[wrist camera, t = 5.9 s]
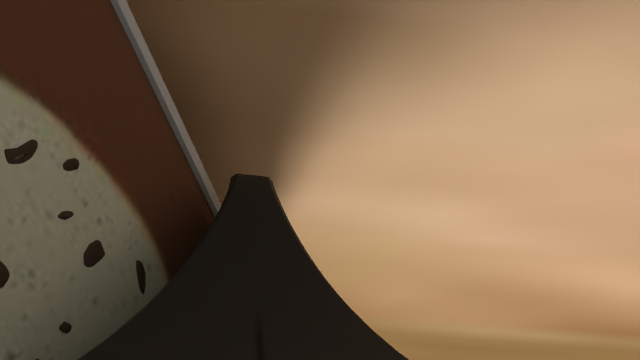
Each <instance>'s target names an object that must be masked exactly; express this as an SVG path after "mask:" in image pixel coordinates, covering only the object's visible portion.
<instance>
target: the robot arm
mask: <svg viewBox="0 0 640 360" xmlns="http://www.w3.org/2000/svg"><path fill="white" fill-rule="evenodd" d="M78 360H408V359H407V358H406V357H404V356H403V355H402V354H400V353H399V352H398V351H396V350H395V349H394V348H393V347H391V346H390V345H389V344H388V343H387V342H386V341H384V340H383V339H382V338H381V337H380V336H379V335H377V334H376V333H375V332H374V331H373V330H372V329H371V328H370V327H369V326H368V325H367V324H366V323H365V322H364V321H363V320H362V319H361V318H360V317H359V316H358V315H357V314H356V313H355V312H354V311H353V310H352V309H351V308H350V307H349V306H348V305H347V304H346V303H345V302H344V301H343V300H342V298H341V297H340V296H339V295H338V294H337V293H336V291H335V290H334V289H333V288H332V286H331V285H330V284H329V283H328V281H327V280H326V279H325V278H324V276H323V275H322V273H321V272H320V271H319V269H318V268H317V266H316V265H315V264H314V262H313V261H312V259H311V258H310V256H309V254H308V253H307V251H306V250H305V248H304V247H303V245H302V243H301V242H300V240H299V238H298V236H297V235H296V233H295V231H294V229H293V227H292V226H291V224H290V222H289V220H288V218H287V216H286V214H285V212H284V210H283V208H282V206H281V203H280V201H279V199H278V196H277V194H276V191H275V189H274V186H273V183H272V181H271V180H270V179H269V177H264V176H253V175H243V174H236V175H234V176H233V177H231V181H230V186H229V189H228V192H227V194H226V197H225V199H224V201H223V203H222V206H221V208H220V210H219V211H218V213H217V215H216V217H215V219H214V220H213V222H212V224H211V226H210V227H209V229H208V231H207V232H206V234H205V235H204V237H203V238H202V240H201V241H200V243H199V244H198V246H197V247H196V249H195V250H194V251H193V253H192V254H191V256H190V257H189V258H188V259H187V261H186V262H185V263H184V265H183V266H182V267H181V268H180V269H179V271H178V272H177V273H176V274H175V275H174V277H173V278H172V279H171V280H170V281H169V282H168V283H167V284H166V285H165V286H164V287H163V288H162V290H161V291H160V292H159V293H158V294H157V295H156V296H155V297H154V298H153V299H152V300H151V301H150V302H149V303H148V304H147V305H146V306H145V307H144V308H143V309H141V310H140V311H139V312H138V313H137V314H136V315H134V316H133V317H132V318H131V319H130V320H129V321H127V322H126V323H125V324H124V325H123V326H122V327H120V328H119V329H118V330H117V331H116V332H115V333H113V334H112V335H111V336H110V337H108V338H107V339H106V340H104V341H103V342H102V343H100V344H99V345H97V346H96V347H94V348H93V349H92V350H90V351H89V352H87V353H86V354H85V355H83V356H82V357H80V358H79V359H78Z"/></svg>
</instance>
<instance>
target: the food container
mask: <svg viewBox="0 0 640 360" xmlns="http://www.w3.org/2000/svg"><path fill="white" fill-rule="evenodd" d="M221 206H222V205H221V203H220V201H219V199H218V197H217V195H216V192H215V190H214V188H213V186H212V184H211V182H210V179H209V177H208V175H207V173H206V171H205V169H204V167H203V164H202V162H201V160H200V158H199V156H198V154H197V152H196V149H195V147H194V145H193V143H192V141H191V139H190V137H189V134H188V132H187V130H186V128H185V126H184V124H183V121H182V119H181V117H180V115H179V113H178V111H177V109H176V106H175V104H174V102H173V100H172V98H171V96H170V94H169V91H168V89H167V87H166V85H165V83H164V81H163V79H162V76H161V74H160V72H159V70H158V68H157V66H156V63H155V61H154V59H153V57H152V55H151V53H150V51H149V48H148V46H147V44H146V42H145V40H144V38H143V36H142V33H141V31H140V29H139V27H138V25H137V23H136V21H135V18H134V16H133V14H132V12H131V10H130V8H129V5H128V3H127V1H126V0H0V360H78V359H79V358H80V357H82V356H83V355H85V354H86V353H87V352H89V351H90V350H92V349H93V348H94V347H96V346H97V345H99V344H100V343H102V342H103V341H104V340H106V339H107V338H108V337H110V336H111V335H112V334H113V333H115V332H116V331H117V330H118V329H119V328H120V327H122V326H123V325H124V324H125V323H126V322H127V321H129V320H130V319H131V318H132V317H133V316H134V315H136V314H137V313H138V312H139V311H140V310H141V309H143V308H144V307H145V306H146V305H147V304H148V303H149V302H150V301H151V300H152V299H153V298H154V297H155V296H156V295H157V294H158V293H159V292H160V291H161V290H162V288H163V287H164V286H165V285H166V284H167V283H168V282H169V281H170V280H171V279H172V278H173V277H174V275H175V274H176V273H177V272H178V271H179V269H180V268H181V267H182V266H183V265H184V263H185V262H186V261H187V259H188V258H189V257H190V256H191V254H192V253H193V251H194V250H195V249H196V247H197V246H198V244H199V243H200V241H201V240H202V238H203V237H204V235H205V234H206V232H207V231H208V229H209V227H210V226H211V224H212V222H213V220H214V219H215V217H216V215H217V213H218V211H219V210H220V208H221Z"/></svg>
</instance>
